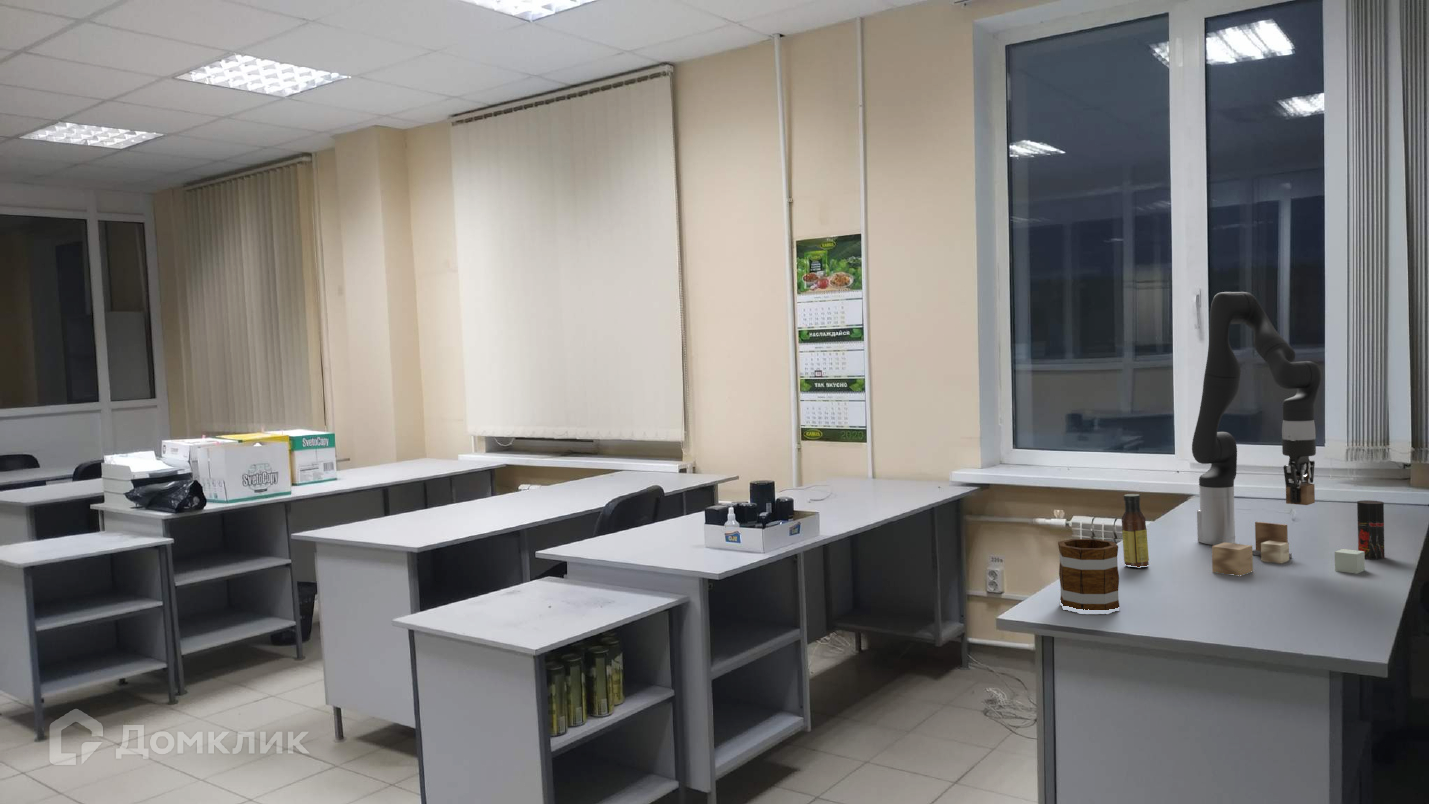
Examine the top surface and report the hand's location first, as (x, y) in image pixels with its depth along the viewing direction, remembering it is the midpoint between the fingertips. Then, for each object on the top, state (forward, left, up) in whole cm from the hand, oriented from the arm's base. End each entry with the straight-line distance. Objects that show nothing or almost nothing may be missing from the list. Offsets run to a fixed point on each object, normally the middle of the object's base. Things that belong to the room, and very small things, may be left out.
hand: (1300, 501), depth 251 cm
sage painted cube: (+10, +2, -17) cm, 21 cm away
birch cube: (-8, +3, -17) cm, 19 cm away
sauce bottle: (-31, -28, -18) cm, 45 cm away
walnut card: (-11, +7, -17) cm, 22 cm away
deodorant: (+8, +23, -18) cm, 30 cm away
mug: (-18, -69, -18) cm, 74 cm away
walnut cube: (0, 0, 0) cm, 1 cm away
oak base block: (-10, -18, -17) cm, 27 cm away
